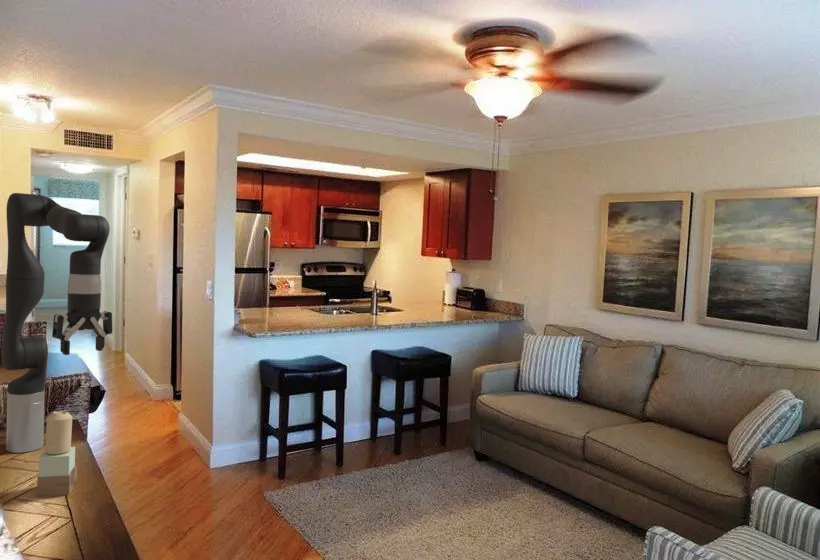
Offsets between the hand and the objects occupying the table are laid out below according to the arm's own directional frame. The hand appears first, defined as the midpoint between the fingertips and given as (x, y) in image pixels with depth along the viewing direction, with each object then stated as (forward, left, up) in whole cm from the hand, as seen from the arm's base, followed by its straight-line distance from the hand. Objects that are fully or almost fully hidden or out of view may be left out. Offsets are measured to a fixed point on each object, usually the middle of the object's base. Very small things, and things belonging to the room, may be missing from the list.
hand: (82, 352), depth 150 cm
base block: (+6, -3, -34) cm, 35 cm away
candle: (+6, -4, -24) cm, 25 cm away
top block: (+6, -4, -29) cm, 30 cm away
